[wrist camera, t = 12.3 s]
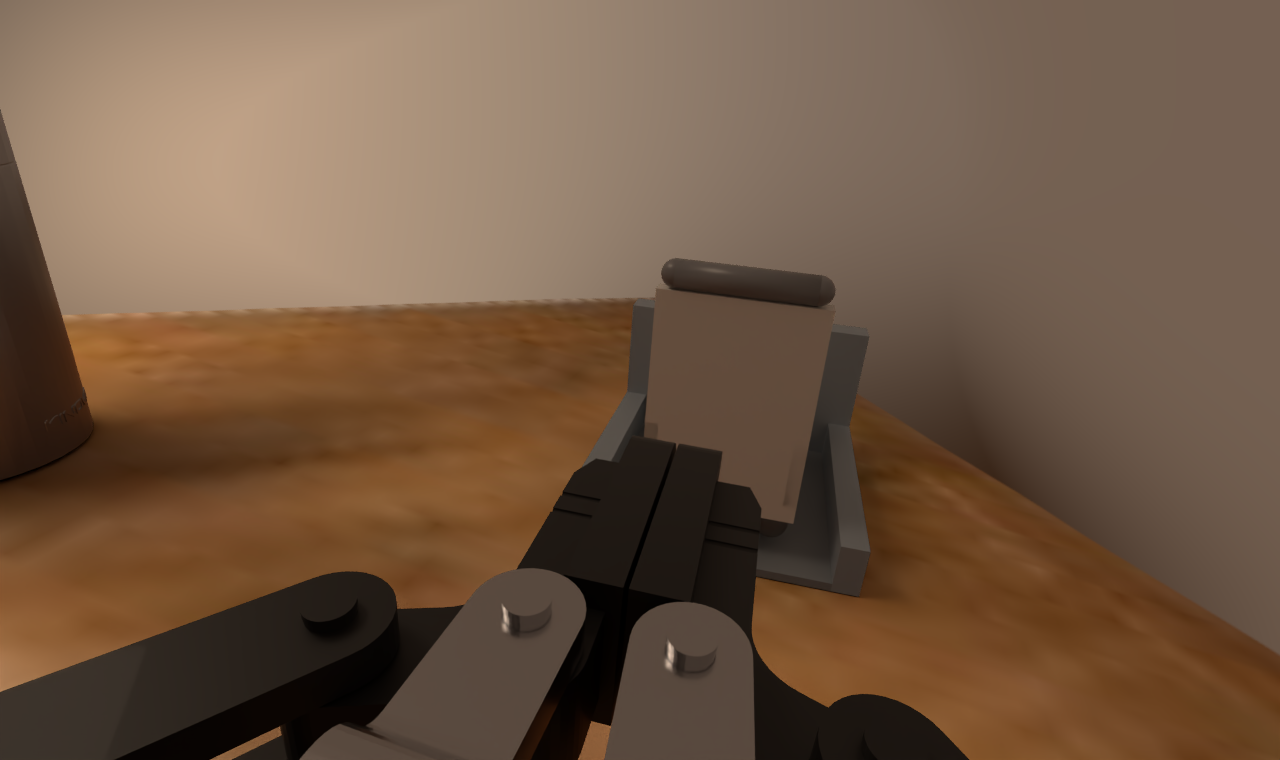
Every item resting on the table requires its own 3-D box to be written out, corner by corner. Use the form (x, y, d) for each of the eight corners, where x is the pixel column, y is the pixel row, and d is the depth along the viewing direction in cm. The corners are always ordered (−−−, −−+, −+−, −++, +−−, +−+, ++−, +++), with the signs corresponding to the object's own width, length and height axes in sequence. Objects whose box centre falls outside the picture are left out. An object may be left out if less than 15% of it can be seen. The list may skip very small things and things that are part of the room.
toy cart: (635, 526, 30) (657, 259, 25) (672, 429, 39) (694, 220, 34) (787, 555, 29) (842, 281, 24) (789, 449, 38) (829, 234, 33)
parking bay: (564, 537, 30) (568, 381, 27) (630, 415, 43) (639, 298, 39) (858, 596, 28) (901, 434, 25) (839, 450, 40) (866, 328, 37)
